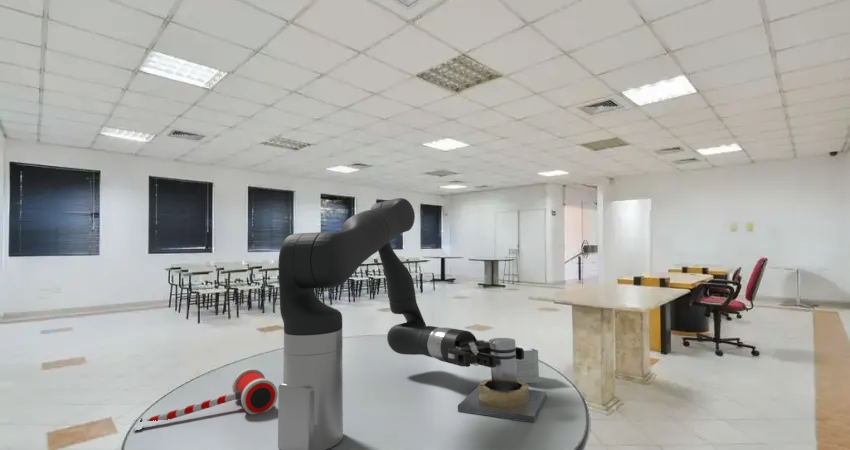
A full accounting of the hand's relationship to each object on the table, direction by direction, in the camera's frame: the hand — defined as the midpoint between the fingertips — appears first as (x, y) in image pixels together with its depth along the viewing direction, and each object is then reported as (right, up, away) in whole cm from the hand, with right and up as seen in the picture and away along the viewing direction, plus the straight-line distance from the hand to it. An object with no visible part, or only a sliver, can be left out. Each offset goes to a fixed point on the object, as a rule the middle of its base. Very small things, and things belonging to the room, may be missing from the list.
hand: (509, 357), depth 76 cm
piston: (-1, -8, +1) cm, 8 cm away
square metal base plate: (-1, -9, +1) cm, 9 cm away
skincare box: (+6, -11, +16) cm, 20 cm away
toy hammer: (-56, -11, 0) cm, 57 cm away
